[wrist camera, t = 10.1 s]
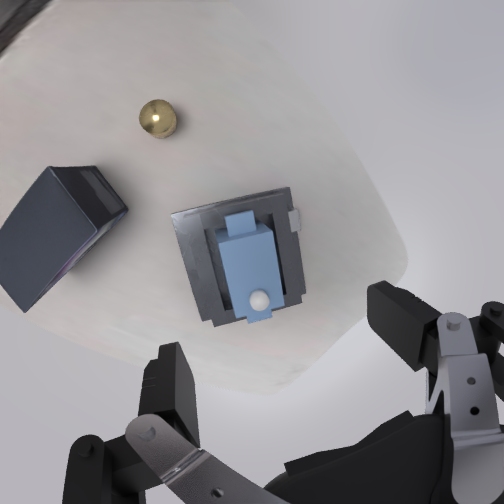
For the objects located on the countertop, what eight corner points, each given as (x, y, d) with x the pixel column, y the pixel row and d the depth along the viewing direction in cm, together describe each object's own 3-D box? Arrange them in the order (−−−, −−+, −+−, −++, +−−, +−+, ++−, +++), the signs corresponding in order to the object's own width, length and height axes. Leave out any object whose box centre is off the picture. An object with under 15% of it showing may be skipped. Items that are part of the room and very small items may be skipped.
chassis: (171, 213, 27) (169, 218, 25) (287, 186, 29) (296, 188, 26) (202, 319, 31) (202, 331, 28) (304, 291, 33) (313, 301, 30)
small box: (68, 274, 27) (24, 319, 17) (33, 230, 25) (-22, 258, 15) (132, 211, 26) (99, 234, 17) (94, 162, 24) (45, 161, 14)
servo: (210, 213, 28) (214, 225, 21) (255, 203, 28) (272, 212, 22) (232, 307, 31) (241, 339, 25) (272, 296, 31) (290, 326, 25)
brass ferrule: (144, 113, 24) (136, 104, 20) (174, 105, 24) (170, 95, 21) (149, 141, 25) (142, 137, 21) (179, 134, 25) (177, 128, 22)
